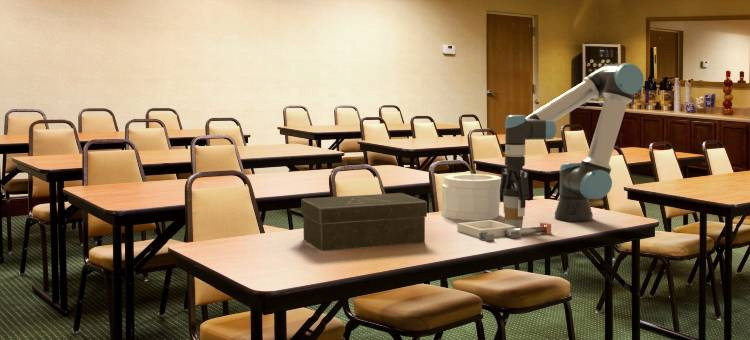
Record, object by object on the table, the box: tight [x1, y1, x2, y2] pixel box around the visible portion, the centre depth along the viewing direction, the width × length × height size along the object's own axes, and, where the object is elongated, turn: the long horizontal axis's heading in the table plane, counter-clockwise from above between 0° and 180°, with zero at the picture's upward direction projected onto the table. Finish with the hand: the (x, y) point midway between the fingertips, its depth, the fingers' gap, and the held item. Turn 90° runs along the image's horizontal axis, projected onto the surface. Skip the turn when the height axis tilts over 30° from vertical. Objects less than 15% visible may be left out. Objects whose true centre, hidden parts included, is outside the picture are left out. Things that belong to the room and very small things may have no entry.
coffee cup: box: [502, 187, 524, 229], centre depth 304 cm, size 8×8×15 cm
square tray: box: [456, 219, 516, 239], centre depth 295 cm, size 15×15×3 cm
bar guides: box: [478, 229, 520, 242], centre depth 284 cm, size 14×5×2 cm, turn 117°
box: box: [300, 192, 428, 252], centre depth 280 cm, size 22×39×15 cm, turn 111°
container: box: [440, 173, 502, 221], centre depth 333 cm, size 25×24×16 cm
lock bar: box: [506, 222, 552, 238], centre depth 290 cm, size 18×4×4 cm, turn 117°
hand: (513, 214), depth 304 cm, fingers closed on coffee cup, 8 cm apart
